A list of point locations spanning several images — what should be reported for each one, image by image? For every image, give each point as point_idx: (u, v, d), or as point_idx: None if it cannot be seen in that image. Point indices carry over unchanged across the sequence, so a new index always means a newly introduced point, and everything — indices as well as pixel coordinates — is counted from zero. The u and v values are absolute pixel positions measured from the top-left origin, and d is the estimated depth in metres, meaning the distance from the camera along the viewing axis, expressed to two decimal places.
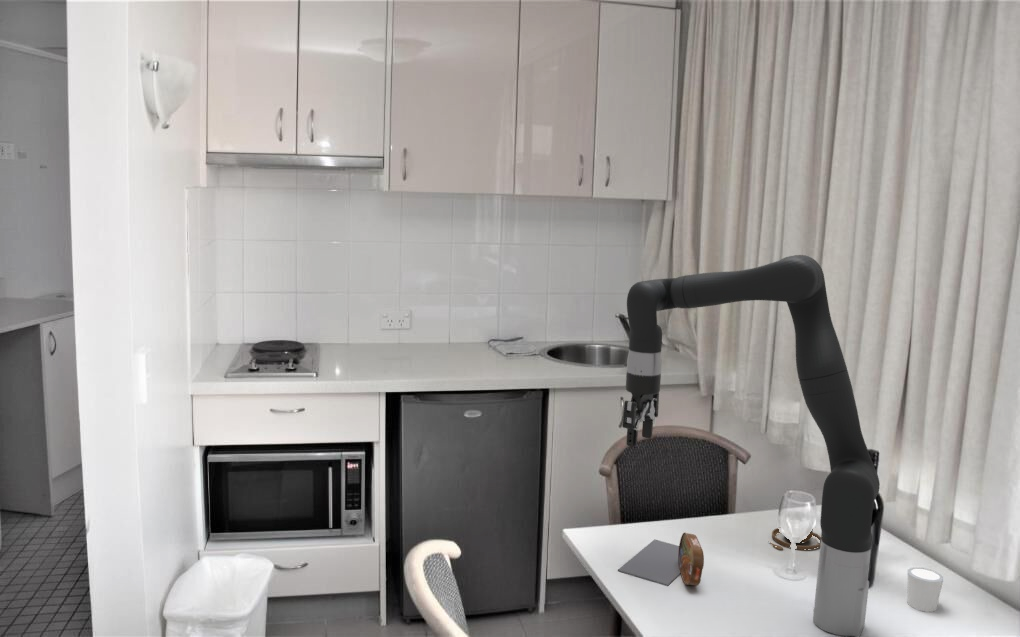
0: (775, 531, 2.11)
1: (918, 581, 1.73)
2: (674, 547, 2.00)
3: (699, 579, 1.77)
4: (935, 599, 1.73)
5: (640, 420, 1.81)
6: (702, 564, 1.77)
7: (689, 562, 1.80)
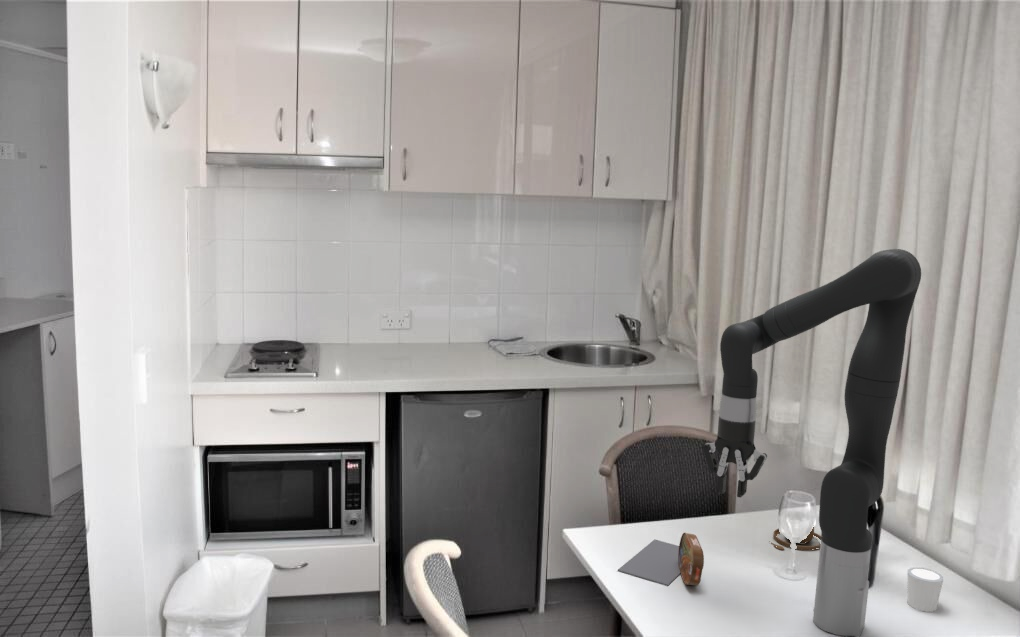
0: (777, 531, 2.11)
1: (918, 581, 1.73)
2: (674, 547, 2.00)
3: (699, 579, 1.77)
4: (935, 599, 1.73)
5: None
6: (702, 564, 1.77)
7: (689, 562, 1.80)
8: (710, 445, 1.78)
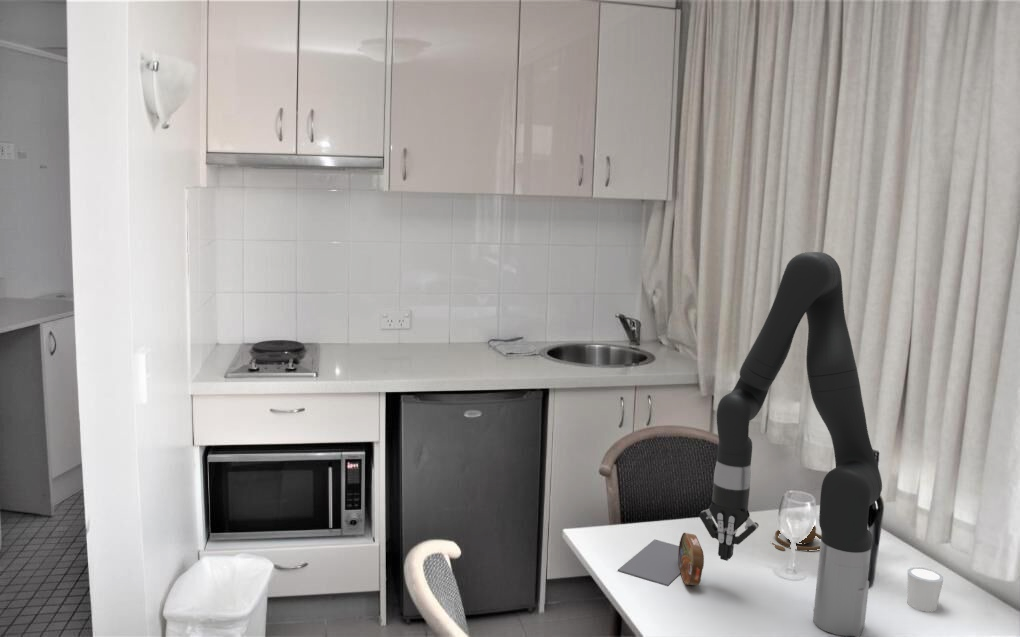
0: (778, 532, 2.10)
1: (918, 581, 1.73)
2: (674, 547, 2.00)
3: (699, 579, 1.77)
4: (935, 599, 1.73)
5: None
6: (702, 564, 1.77)
7: (689, 562, 1.80)
8: (706, 512, 1.81)
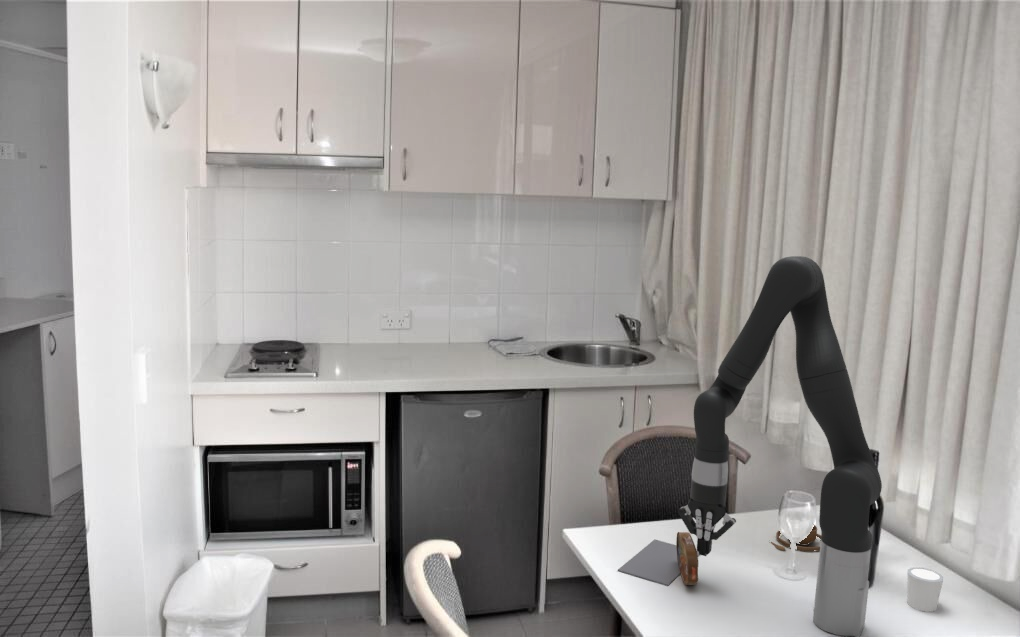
0: None
1: (918, 581, 1.73)
2: (674, 547, 2.00)
3: (696, 578, 1.77)
4: (935, 599, 1.73)
5: None
6: (697, 563, 1.77)
7: (685, 562, 1.80)
8: (684, 508, 1.83)
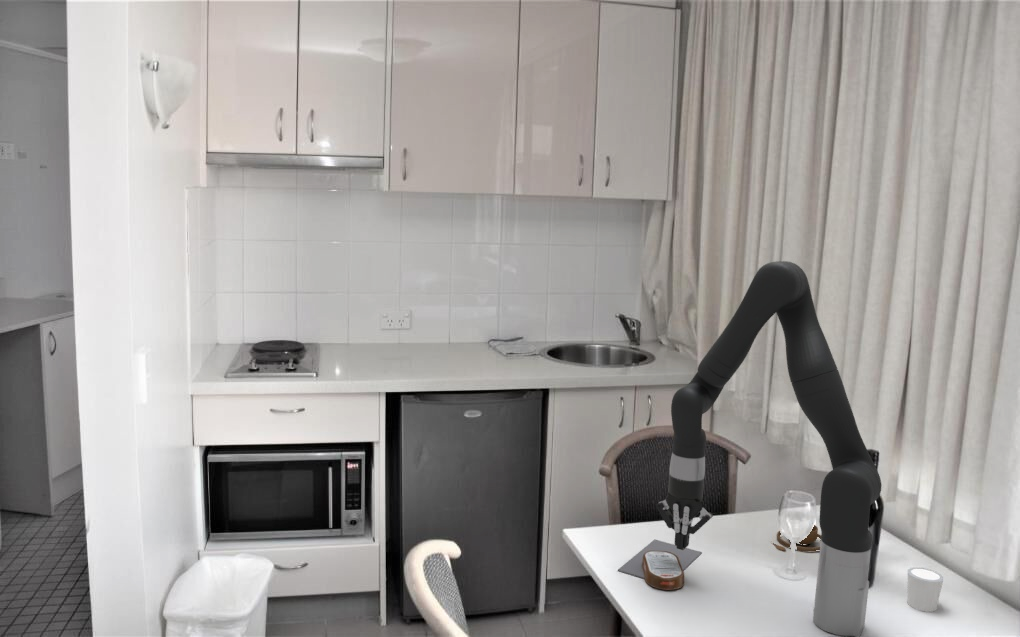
0: None
1: (918, 581, 1.73)
2: (674, 547, 2.00)
3: (673, 580, 1.78)
4: (935, 599, 1.73)
5: None
6: (657, 578, 1.78)
7: None
8: (662, 503, 1.86)
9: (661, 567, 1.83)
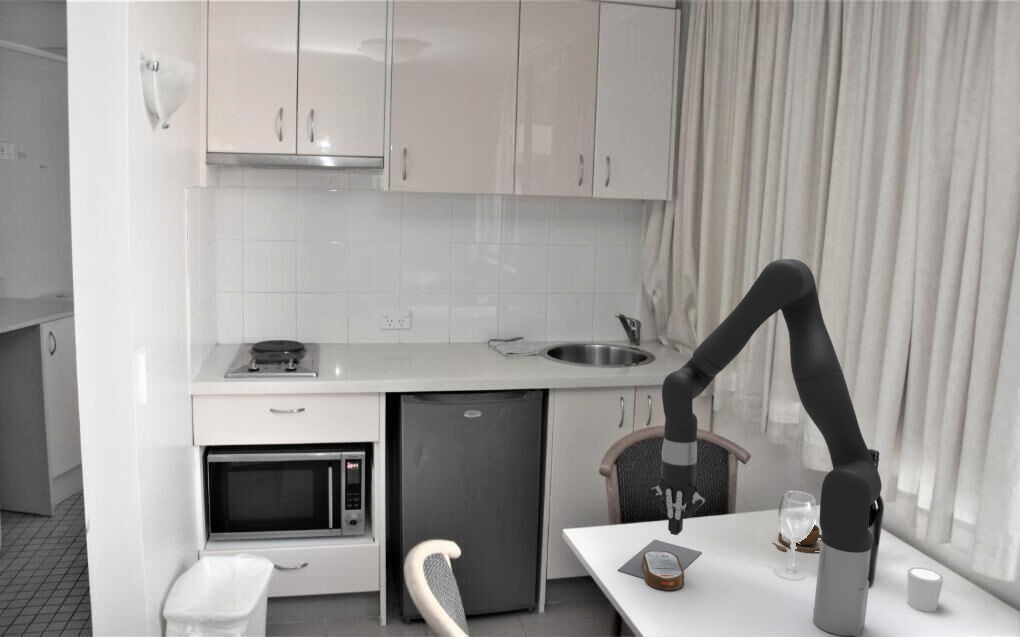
0: None
1: (918, 581, 1.73)
2: (674, 547, 2.00)
3: (673, 580, 1.78)
4: (935, 599, 1.73)
5: None
6: (657, 578, 1.78)
7: None
8: (656, 488, 1.86)
9: (661, 567, 1.83)
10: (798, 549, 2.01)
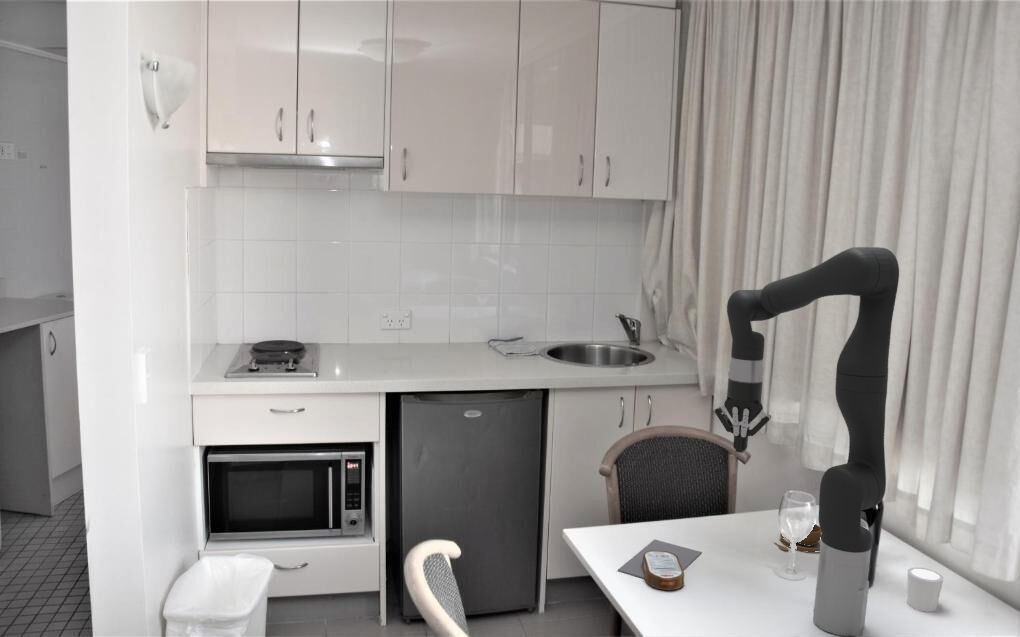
0: None
1: (918, 581, 1.73)
2: (674, 547, 2.00)
3: (673, 580, 1.78)
4: (935, 599, 1.73)
5: None
6: (657, 578, 1.78)
7: None
8: (721, 408, 1.91)
9: (661, 567, 1.83)
10: (800, 549, 2.01)
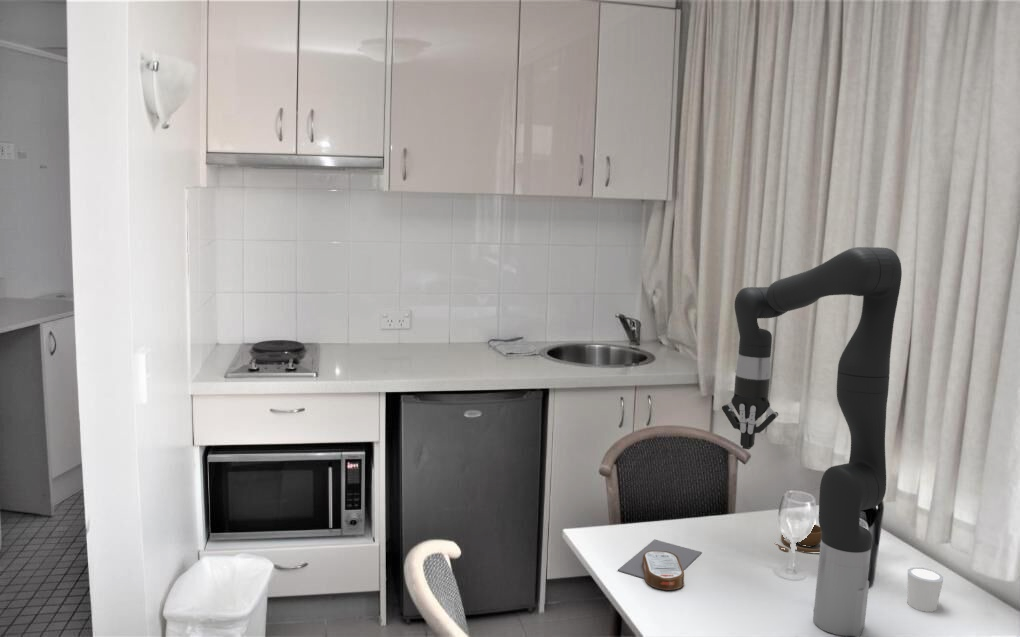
0: None
1: (918, 581, 1.73)
2: (674, 547, 2.00)
3: (673, 580, 1.78)
4: (935, 599, 1.73)
5: None
6: (657, 578, 1.78)
7: None
8: (728, 405, 1.92)
9: (661, 567, 1.83)
10: (800, 550, 2.01)
